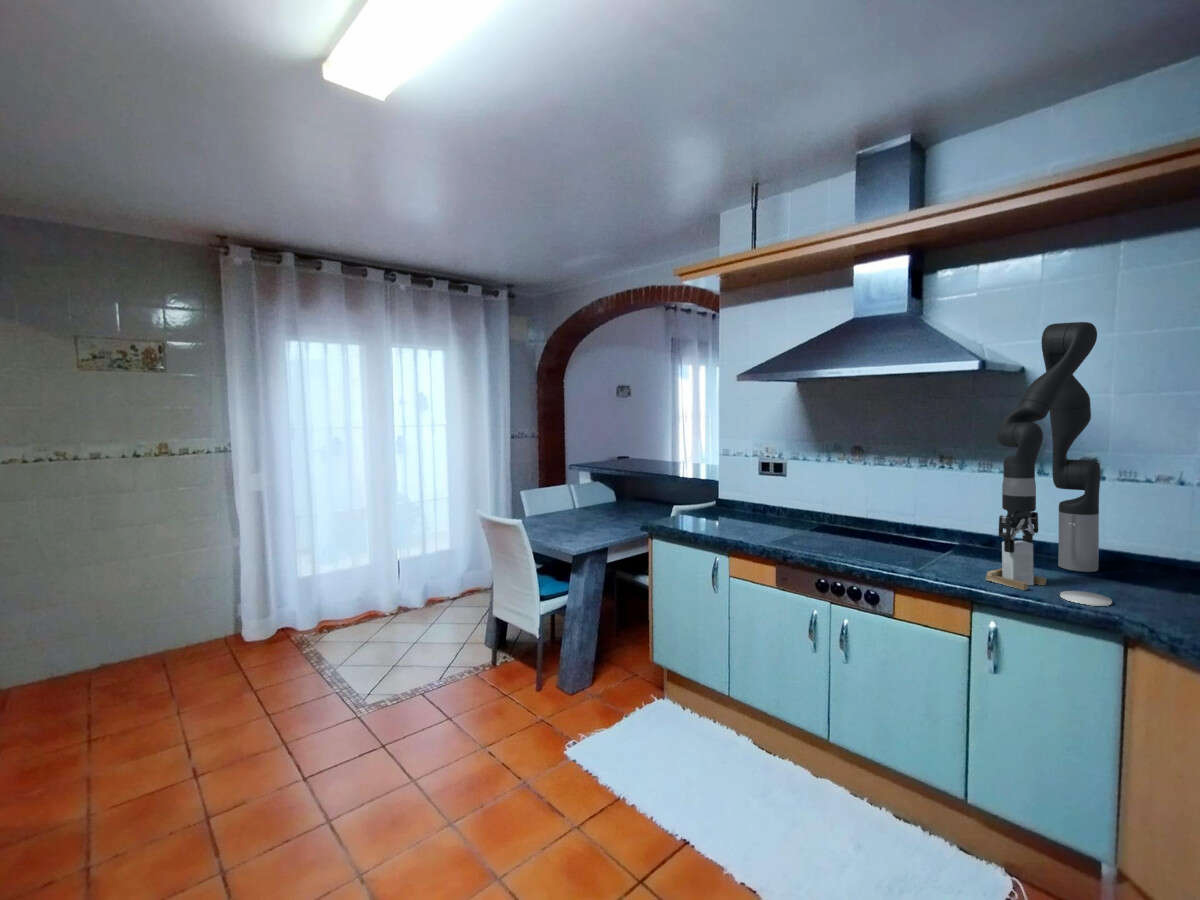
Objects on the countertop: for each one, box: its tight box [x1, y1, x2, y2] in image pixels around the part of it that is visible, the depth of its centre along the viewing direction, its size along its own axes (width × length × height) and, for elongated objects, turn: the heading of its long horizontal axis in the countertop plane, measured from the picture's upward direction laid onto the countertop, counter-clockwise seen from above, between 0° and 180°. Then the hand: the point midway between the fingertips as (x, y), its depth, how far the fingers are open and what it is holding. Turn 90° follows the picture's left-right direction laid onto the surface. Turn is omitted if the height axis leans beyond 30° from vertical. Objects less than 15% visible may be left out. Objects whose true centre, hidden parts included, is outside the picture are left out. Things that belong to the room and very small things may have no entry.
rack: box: [985, 567, 1047, 591], centre depth 156 cm, size 10×10×3 cm
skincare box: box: [1001, 540, 1035, 586], centre depth 155 cm, size 6×4×12 cm
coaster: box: [1059, 590, 1113, 607], centre depth 141 cm, size 10×10×1 cm
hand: (1018, 550), depth 155 cm, fingers open, 8 cm apart
